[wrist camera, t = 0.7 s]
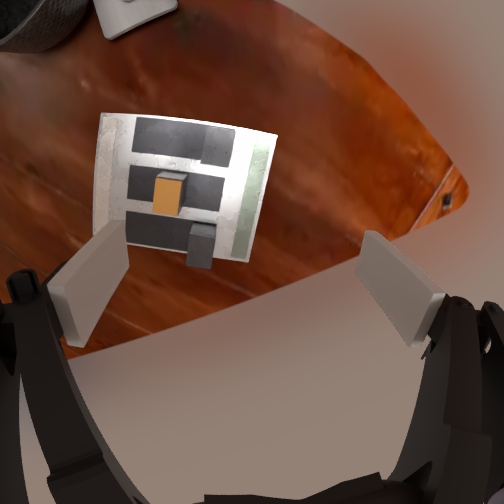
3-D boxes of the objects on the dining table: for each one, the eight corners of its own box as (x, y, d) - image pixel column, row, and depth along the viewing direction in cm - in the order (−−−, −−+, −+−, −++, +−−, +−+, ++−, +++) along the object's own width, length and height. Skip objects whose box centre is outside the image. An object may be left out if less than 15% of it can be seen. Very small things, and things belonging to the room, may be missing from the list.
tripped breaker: (159, 202, 33) (151, 213, 29) (163, 170, 31) (155, 177, 27) (183, 205, 33) (177, 217, 29) (188, 173, 32) (182, 180, 28)
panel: (98, 233, 36) (80, 251, 30) (107, 113, 29) (86, 112, 23) (247, 255, 40) (251, 278, 34) (274, 134, 33) (284, 136, 27)
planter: (46, -11, 17) (4, -33, 5) (117, -22, 19) (83, -62, 8) (17, 64, 22) (-37, 59, 11) (83, 58, 25) (30, 40, 13)
